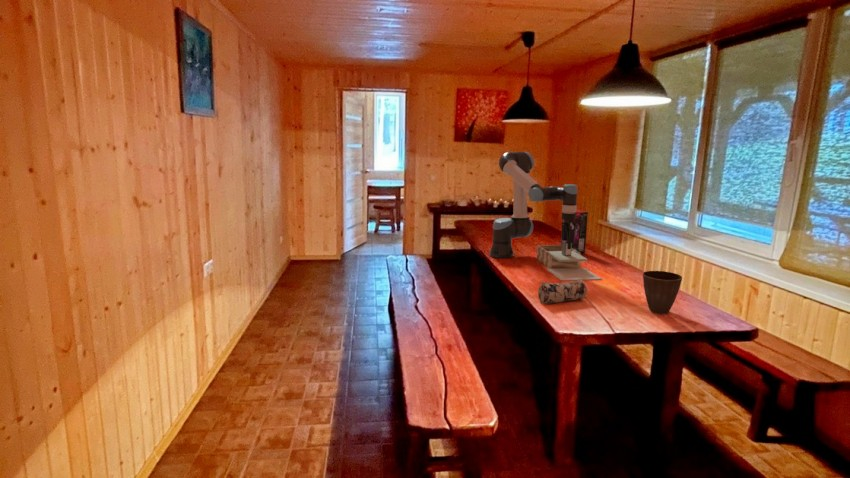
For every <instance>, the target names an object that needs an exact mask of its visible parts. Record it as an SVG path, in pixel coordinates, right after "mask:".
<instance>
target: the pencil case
mask: <svg viewBox="0 0 850 478" xmlns="http://www.w3.org/2000/svg"><path fill="white" fill-rule="evenodd" d="M537 292H538V295H537V296H538V299H539V302H541V304H543V305H546V304H547V305H548V304H554V303H555V304H556V303H564V302H569V301H570V302H571V301H576V300H584V298H586V296H587V293H588V287H587V285H586V283H585V280H574V281H571V282H570V281H569V282H561V283H550V282H547V281H546V282H544V281H540V286H539V287H538V291H537Z"/></svg>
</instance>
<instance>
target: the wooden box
mask: <svg viewBox="0 0 850 478" xmlns="http://www.w3.org/2000/svg"><path fill="white" fill-rule="evenodd" d="M536 247H537V248H536V249H537V250H536V260H537V261H538V262H539V263H540V264H542V265H543V266H545V267H546V269H553V268H581V267H580V266H581V265H580V264H581V261H573V262H559V261H557V260H556V259H554V258H553V257H551V253H549V252H548V251H562V245H561V244H552V245H551V244H546V245H545V244H544V245H543V244H542V245H537V246H536ZM572 251H574V252H576V253H578V254H580V255H581V256H582V253H579V252H578V251H576V250H574V249H572Z"/></svg>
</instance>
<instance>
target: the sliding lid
mask: <svg viewBox="0 0 850 478" xmlns="http://www.w3.org/2000/svg"><path fill="white" fill-rule="evenodd" d="M566 242H567V240H565V241H562V251H548V252H549V253H551V257H553V258H554V259H556V260H557V261H559V262H573V261H580V262H588V258H586V257H585V256H583V255H582V254H581V255H580V254H578V253H576V252H574V251H572V243H571V255H566Z"/></svg>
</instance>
